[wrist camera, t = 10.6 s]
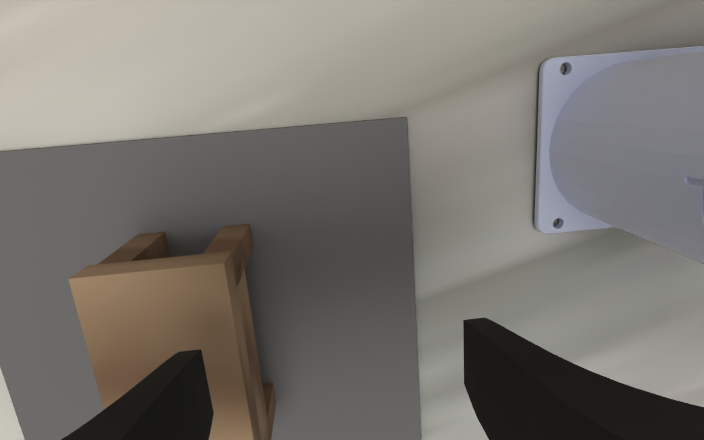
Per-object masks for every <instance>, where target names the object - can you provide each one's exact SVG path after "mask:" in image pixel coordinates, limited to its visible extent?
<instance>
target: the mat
mask: <svg viewBox="0 0 704 440" xmlns="http://www.w3.org/2000/svg"><path fill="white" fill-rule="evenodd" d="M240 224H250V228H251V235H252V242H253V248H254V249H253V251H252V253H251V256H250V258H249V260H248V262H247V265H246V267H245V275H246V282H247V288H248V295H249V301H250V308H251V314H252V321H253V327H254V334H255V340H256V346H257V353H258V359H259V366H260V372H261V379H262V384H268V383H273V385H274V392H275V399H276V408H275V415H274V423H273V430H272V438H271V440H422V439H421V417H420V394H419V372H418V349H417V327H416V304H415V282H414V259H413V237H412V214H411V192H410V169H409V147H408V124H407V117H401V118H390V119H378V120H366V121H354V122H343V123H331V124H319V125H307V126H296V127H284V128H272V129H260V130H249V131H237V132H225V133H213V134H202V135H190V136H178V137H166V138H155V139H143V140H131V141H119V142H108V143H96V144H84V145H72V146H60V147H49V148H37V149H25V150H13V151H2V152H0V367H1V370H2V373H3V376H4V379H5V382H6V385H7V388H8V391H9V394H10V397H11V400H12V403H13V406H14V409H15V412H16V415H17V418H18V421H19V423H20V426H21V429H22V432H23V435H24V438H25V440H61V439H63V438H64V437H66V436H67V435H69V434H70V433H72V432H73V431H75V430H76V429H78V428H79V427H81V426H82V425H84V424H85V423H87V422H88V421H89V420H91V419H92V418H93V417H95V416H96V415H97V414H99V413H100V412H102V411H103V410H104V409H103V405H102V401H101V398H100V394H99V390H98V387H97V383H96V379H95V376H94V372H93V368H92V365H91V361H90V357H89V353H88V350H87V346H86V342H85V339H84V335H83V331H82V328H81V324H80V320H79V317H78V313H77V309H76V306H75V302H74V298H73V294H72V291H71V287H70V283H69V280H68V279H69V278H70V277H72V276H73V275H74V274H76V273H77V272H79V271H80V270H81V269H83V268H84V267H86V266H88V265H97V264H98V263H100V262H101V261H102V260H104V259H105V258H106V257H108V256H109V255H110V254H112V253H113V252H114V251H116V250H117V249H119V248H120V247H121V246H123V245H124V244H125V243H127V242H128V241H129V240H131V239H132V238H133V237H135V236H136V235H137V234H146V233H157V232H165V235H166V240H167V245H168V250H169V255H170V257H179V256H189V255H199V254H203V252H204V251H205V250H206V248H207V247H208V246H209V244H210V243H211V242H212V240H213V239H214V238H215V236H216V235H217V234H218V232H219V231H220V230H221V228H222V227H223V226H230V225H240Z"/></svg>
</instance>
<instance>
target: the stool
mask: <svg viewBox="0 0 704 440" xmlns="http://www.w3.org/2000/svg"><path fill="white" fill-rule="evenodd" d="M253 249H254V248H253V242H252V235H251V228H250V224H240V225H230V226H223V227H222V228H221V230H220V231H219V232H218V234H217V235H216V236H215V238H214V239H213V240H212V242H211V243H210V244H209V246H208V247H207V248H206V250H205V251H204V252H203V254H199V255H189V256H179V257H170V255H169V250H168V245H167V240H166V235H165V232H157V233H146V234H137V235H136V236H135V237H133V238H132V239H131V240H129V241H128V242H127V243H125V244H124V245H123V246H121V247H120V248H119V249H117V250H116V251H114V252H113V253H112V254H110V255H109V256H108V257H106V258H105V259H104V260H102V261H101V262H100V263H98V264H97V265H88V266H86V267H84V268H83V269H81V270H80V271H79V272H77V273H76V274H74V275H73V276H72V277H70V278H69V279H68V280H69V283H70V287H71V291H72V294H73V298H74V302H75V306H76V309H77V313H78V317H79V320H80V324H81V328H82V331H83V335H84V339H85V342H86V346H87V350H88V353H89V357H90V361H91V365H92V368H93V372H94V376H95V379H96V383H97V387H98V390H99V394H100V398H101V401H102V405H103V409H106V408H107V407H108V406H110V405H111V404H112V403H114V402H115V401H116V400H118V399H119V398H120V397H122V396H123V395H124V394H125V393H127V392H128V391H129V390H130V389H132V388H133V387H134V386H135V385H137V384H138V383H139V382H140V381H142V380H143V379H144V378H145V377H147V376H148V375H149V374H150V373H151V372H153V371H154V370H155V369H156V368H158V367H159V366H160V365H161V364H163V363H164V362H165V361H166V360H168V359H169V358H170V357H172V356H173V355H174V354H176V353H177V352H181V351H190V350H199V349H201V350H202V355H203V361H204V366H205V371H206V376H207V381H208V386H209V392H210V397H211V402H212V407H213V412H214V415H213V420H212V426H211V431H210V436H209V440H271V438H272V430H273V423H274V415H275V408H276V399H275V392H274V385H273V383H268V384H262V379H261V372H260V366H259V359H258V353H257V346H256V340H255V334H254V327H253V321H252V314H251V308H250V301H249V295H248V288H247V282H246V275H245V267H246V265H247V262H248V260H249V258H250V256H251V253H252V251H253Z"/></svg>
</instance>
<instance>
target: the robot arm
mask: <svg viewBox="0 0 704 440" xmlns="http://www.w3.org/2000/svg"><path fill="white" fill-rule="evenodd" d="M563 63H564V64H565V65H566V67H567V70H566V73H565V74H564V75H563V74H562V73H561V72H560V67H561V65H562V64H563ZM557 218H559V223H558V225H557V226H553V222H554V220H555V219H557ZM534 224H535V228H536V229H537V230H538V231H539V232H541V233H543V234H554V233H563V232H573V231H583V230H593V229H603V228H613V227H617V228H620V229H622V230H624V231H627V232H629V233H631V234H634V235H636V236H639V237H641V238H643V239H646V240H648V241H651V242H653V243H655V244H658V245H660V246H662V247H665V248H667V249H670V250H672V251H674V252H677V253H679V254H682V255H684V256H686V257H689V258H691V259H693V260H696V261H698V262H701V263H703V264H704V46H693V47H681V48H668V49H655V50H643V51H630V52H617V53H605V54H592V55H579V56H567V57H554V58H550V59H547V60H545V61H544V62H543V63H542V65H541V67H540V72H539V102H538V132H537V162H536V193H535V223H534ZM464 384H465V387H466V390H467V392H468V395H469V398H470V401H471V403H472V406H473V408H474V411H475V413H476V416H477V418H478V420H479V422H480V424H481V425H482V427H483V429H484V431H485V433H486V435H487V437H488V438H489V440H704V407H700V406H696V405H691V404H688V403H684V402H680V401H676V400H673V399H669V398H666V397H662V396H659V395H656V394H653V393H649V392H646V391H643V390H640V389H637V388H634V387H631V386H628V385H625V384H622V383H619V382H617V381H614V380H611V379H609V378H606V377H604V376H601V375H599V374H596V373H593V372H591V371H589V370H586V369H584V368H582V367H580V366H577V365H575V364H573V363H571V362H569V361H567V360H565V359H563V358H560V357H558V356H556V355H554V354H552V353H550V352H548V351H546V350H545V349H543V348H541V347H539V346H537V345H535V344H533V343H531V342H530V341H528V340H526V339H524V338H522V337H520V336H519V335H517V334H515V333H513V332H512V331H510V330H508V329H506V328H504V327H503V326H501V325H499V324H497V323H495V322H493V321H491V320H489V319H487V318H478V319H469V320H464ZM213 415H214V412H213V407H212V402H211V397H210V392H209V386H208V381H207V376H206V371H205V366H204V361H203V355H202V350H201V349H199V350H190V351H181V352H177V353H176V354H174V355H173V356H172V357H170V358H169V359H168V360H166V361H165V362H164V363H163V364H161V365H160V366H159V367H158V368H156V369H155V370H154V371H153V372H151V373H150V374H149V375H148V376H147V377H145V378H144V379H143V380H142V381H140V382H139V383H138V384H137V385H135V386H134V387H133V388H132V389H130V390H129V391H128V392H127V393H125V394H124V395H123V396H122V397H120V398H119V399H118V400H116V401H115V402H114V403H112V404H111V405H110V406H108V407H107V408H106V409H104V410H103V411H102V412H100V413H99V414H97V415H96V416H95V417H93V418H92V419H91V420H89V421H88V422H87V423H85V424H84V425H82V426H81V427H79V428H78V429H76V430H75V431H73V432H72V433H70V434H69V435H67V436H66V437H64V438H63V439H61V440H209V436H210V431H211V426H212V420H213Z"/></svg>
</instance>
